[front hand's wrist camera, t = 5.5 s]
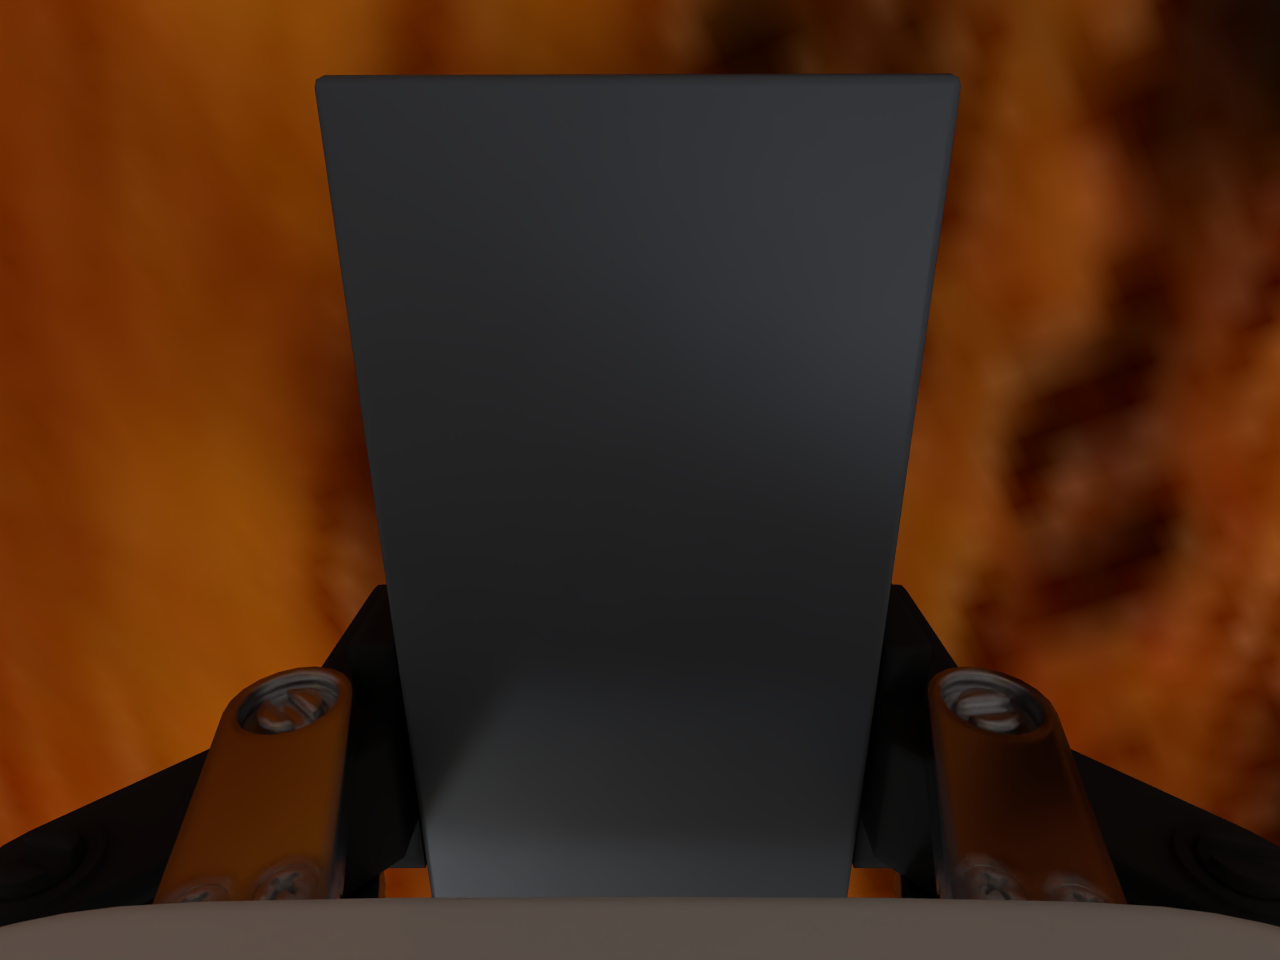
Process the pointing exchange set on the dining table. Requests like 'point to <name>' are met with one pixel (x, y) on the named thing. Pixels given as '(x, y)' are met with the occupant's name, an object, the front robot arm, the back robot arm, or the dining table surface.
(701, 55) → the dining table surface
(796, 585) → the post
